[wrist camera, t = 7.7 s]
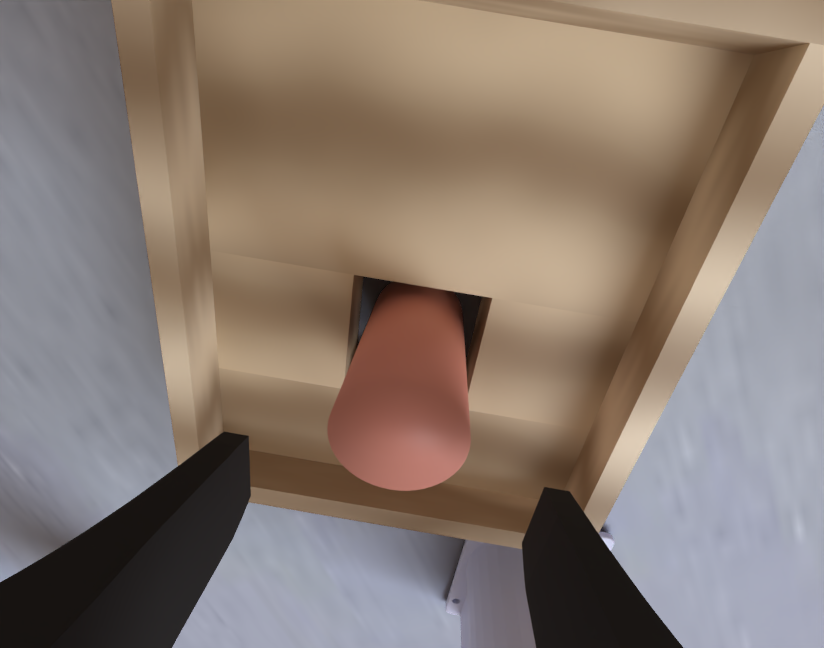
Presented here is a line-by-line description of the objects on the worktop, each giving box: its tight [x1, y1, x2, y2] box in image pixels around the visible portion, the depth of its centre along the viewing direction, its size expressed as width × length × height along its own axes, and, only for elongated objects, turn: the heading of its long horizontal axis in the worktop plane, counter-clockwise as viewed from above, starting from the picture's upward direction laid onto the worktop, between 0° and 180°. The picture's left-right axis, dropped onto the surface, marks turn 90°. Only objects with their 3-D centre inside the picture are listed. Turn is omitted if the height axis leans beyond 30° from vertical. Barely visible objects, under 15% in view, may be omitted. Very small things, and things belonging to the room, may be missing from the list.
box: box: [111, 0, 824, 549], centre depth 16 cm, size 20×18×4 cm
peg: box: [327, 281, 471, 491], centre depth 15 cm, size 4×4×8 cm
